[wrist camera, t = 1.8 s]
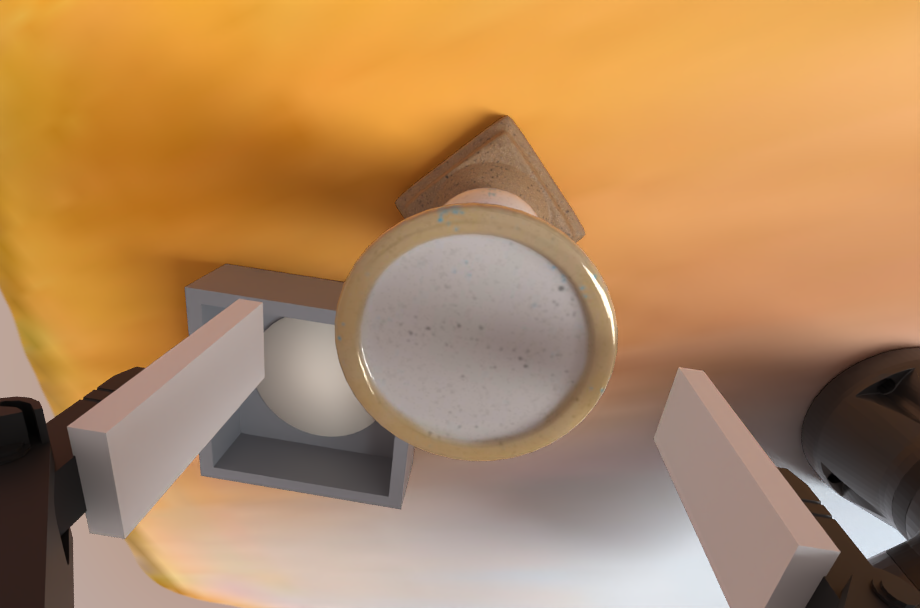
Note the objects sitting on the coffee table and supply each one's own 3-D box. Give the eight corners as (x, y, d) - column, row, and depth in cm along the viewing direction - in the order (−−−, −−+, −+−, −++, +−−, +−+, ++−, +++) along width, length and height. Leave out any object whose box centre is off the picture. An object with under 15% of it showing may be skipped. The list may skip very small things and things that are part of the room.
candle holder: (395, 198, 40) (259, 312, 18) (508, 111, 37) (514, 118, 14) (474, 301, 42) (443, 513, 20) (585, 229, 39) (690, 387, 17)
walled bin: (432, 296, 43) (422, 324, 37) (412, 464, 49) (400, 509, 44) (225, 263, 43) (184, 286, 37) (234, 434, 50) (201, 475, 44)
